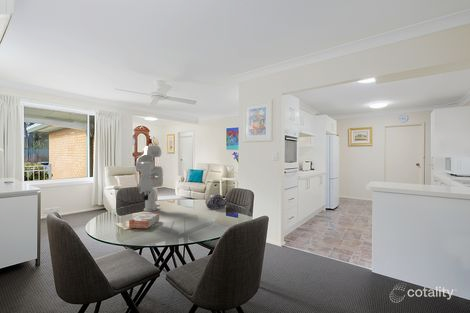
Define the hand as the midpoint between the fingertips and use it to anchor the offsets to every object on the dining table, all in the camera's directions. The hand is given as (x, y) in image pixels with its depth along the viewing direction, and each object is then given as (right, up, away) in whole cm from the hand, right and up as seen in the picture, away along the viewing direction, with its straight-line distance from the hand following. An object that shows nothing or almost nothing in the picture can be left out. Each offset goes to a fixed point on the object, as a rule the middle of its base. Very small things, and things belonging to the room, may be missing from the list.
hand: (146, 200), depth 190 cm
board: (-7, -17, -7) cm, 20 cm away
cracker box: (+4, -13, +1) cm, 14 cm away
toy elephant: (+54, -17, +43) cm, 71 cm away
